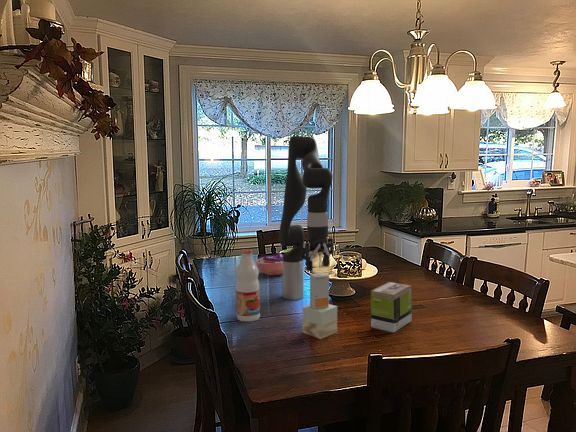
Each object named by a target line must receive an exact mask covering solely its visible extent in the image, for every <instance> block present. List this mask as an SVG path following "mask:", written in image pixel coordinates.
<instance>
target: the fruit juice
mask: <svg viewBox="0 0 576 432" xmlns="http://www.w3.org/2000/svg"><path fill="white" fill-rule="evenodd" d="M253 254H254V250H253V249H251V248H242V249H240V255H241V257H240V261H239V264H238V265H237V267H236V268H235V269H236V270H235V275H236V281H235V296H236V297H235V300H236V303H235V304H236V305H235V306H236V318H237V320H238V321H241V322H246V323H247V322H249V323H250V322H255V321H258V320H260V318H261V305H260V304H261V302H260V301H261V299H260V298H261V297H260V296H261V295H260V281H259V273H260V272H259V271H260V270H259V269H258V267H257V265H256V262H255V261H254V257H253Z"/></svg>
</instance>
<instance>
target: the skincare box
mask: <svg viewBox="0 0 576 432" xmlns="http://www.w3.org/2000/svg"><path fill="white" fill-rule="evenodd" d="M309 304H310V306H311V307H312V308H314V309H316V308H325V307H329V304H330V276H329V274H327V273H325V272H324V273H323V272H321V273H314V274H313V273H312V274H309Z"/></svg>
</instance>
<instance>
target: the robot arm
mask: <svg viewBox="0 0 576 432" xmlns="http://www.w3.org/2000/svg"><path fill="white" fill-rule="evenodd" d="M287 154H288V157H287V171H286V172H287V173H286V179H285V187H284V195H283V207H282V208H283V209H282V215H281V221H280V225H279V230H278V231H279V232H278V241H279V242H278V243H279V244H280V245H281V246H282V247H292V248H291V249H290V250H288V251H287V252H285V253H283V254H282V255H283V273H282V275H281V297H283V299H286V300H291V301H292V300H293V301H297V300H301V299H303V298H304V260H305V269H306V270H307V271H308V272H313V269H314V268H313V265H314V264H313V262H314V261H313V259H314V257H316V255H317V254H319V253H321V254H322V266H323V267H325V268H328V267H329V265H330V256H331V255H333V254H334V238H332V237H329V213H328V201H329V194H330V189H331V186H332V183H333V177H334V176H333V172H332V171H331V169H330V168H327V167H323V164H322V162H321V161H320V158H319V157H320V156H319V149H318V144H317V140H316V139H315V138H314V137H311V136H303V135H292V136H290V139H289V142H288V153H287ZM297 160H301V167H302V170H303V173H302V175H301V173H300V170H299V168H298V165H297ZM307 189H320V191H319V192H318V193H316V194H311V195H309V196H308V197H307V217H306V236H307V238H308V242H305V230H304V227H303V226H302V225H300V224H293V225H291V224H292V221H293V219H294V217H296V215H297V214H298V213H299V212H300V210H301V209H302V208H303V206H304V204H305V202H306V196H307Z"/></svg>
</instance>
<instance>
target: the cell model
mask: <svg viewBox="0 0 576 432" xmlns="http://www.w3.org/2000/svg"><path fill="white" fill-rule="evenodd" d="M255 265H256V266H257V267H258V270H259V271H260V272H261V273H262V274H265V275H267V276H280V275H283V254H282V253H280V252H279V253H276V255H271V256H270V255H269V256H267V255H266V256H265V255H264V256H263V257H260V258H258V259H256V260H255Z"/></svg>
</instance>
